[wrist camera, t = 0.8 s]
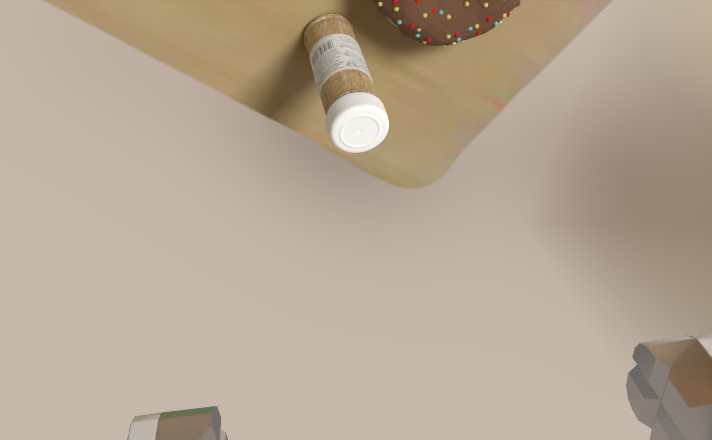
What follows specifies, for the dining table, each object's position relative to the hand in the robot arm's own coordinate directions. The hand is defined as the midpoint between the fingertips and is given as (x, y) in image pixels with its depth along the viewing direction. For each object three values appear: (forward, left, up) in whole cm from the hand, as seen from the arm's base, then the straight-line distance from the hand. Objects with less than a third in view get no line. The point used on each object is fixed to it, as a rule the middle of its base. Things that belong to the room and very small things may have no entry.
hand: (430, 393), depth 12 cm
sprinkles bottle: (+16, +12, -44) cm, 48 cm away
